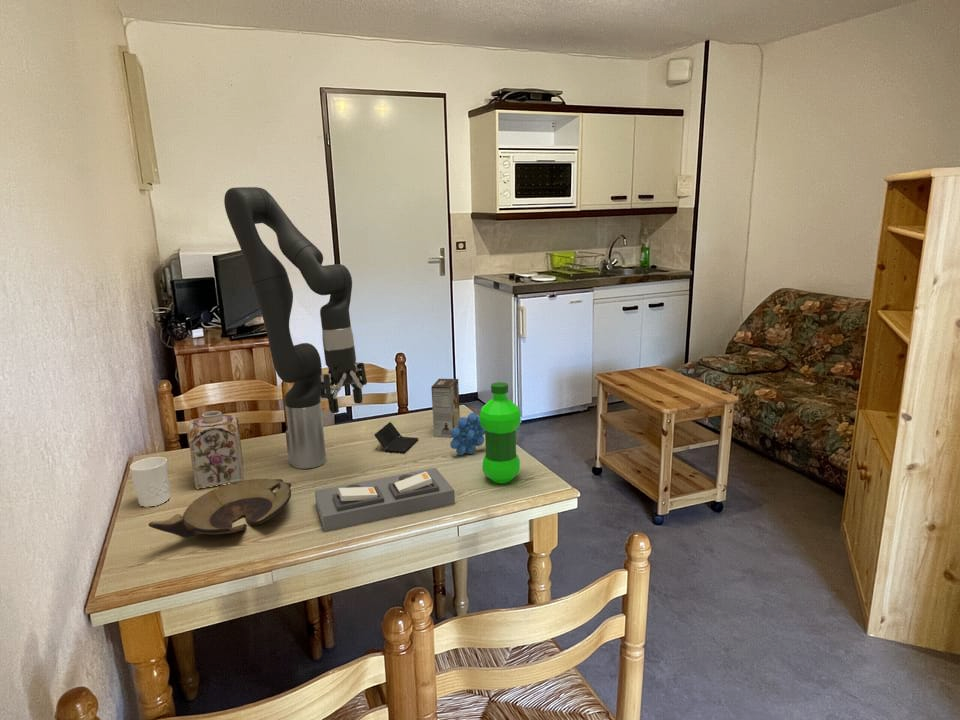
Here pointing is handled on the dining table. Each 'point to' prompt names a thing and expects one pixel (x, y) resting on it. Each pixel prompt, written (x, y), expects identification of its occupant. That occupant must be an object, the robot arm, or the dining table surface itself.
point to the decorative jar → (215, 449)
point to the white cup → (151, 480)
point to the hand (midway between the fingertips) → (346, 407)
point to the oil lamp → (229, 508)
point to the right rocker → (413, 482)
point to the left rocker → (357, 493)
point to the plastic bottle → (500, 435)
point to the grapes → (467, 434)
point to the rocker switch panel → (382, 500)
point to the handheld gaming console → (394, 440)
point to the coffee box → (445, 406)
